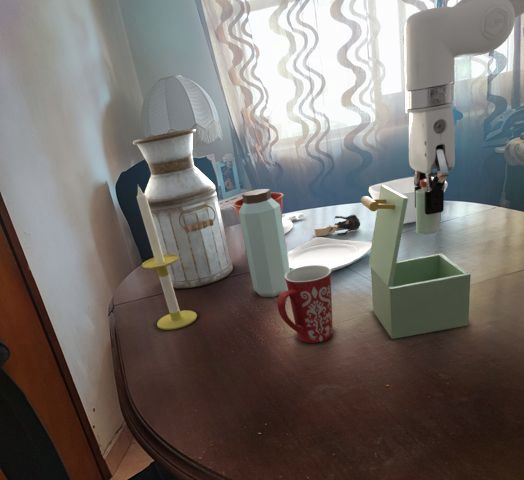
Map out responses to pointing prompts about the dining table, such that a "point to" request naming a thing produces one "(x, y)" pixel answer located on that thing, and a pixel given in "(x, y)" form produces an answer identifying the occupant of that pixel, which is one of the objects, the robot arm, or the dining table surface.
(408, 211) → the bowl
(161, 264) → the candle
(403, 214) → the lid
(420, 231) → the spice bottle
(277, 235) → the water bottle
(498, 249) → the dining table surface
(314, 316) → the mug
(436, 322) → the chest
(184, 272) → the milk can
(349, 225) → the toy figure
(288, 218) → the spray bottle
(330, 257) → the plate
